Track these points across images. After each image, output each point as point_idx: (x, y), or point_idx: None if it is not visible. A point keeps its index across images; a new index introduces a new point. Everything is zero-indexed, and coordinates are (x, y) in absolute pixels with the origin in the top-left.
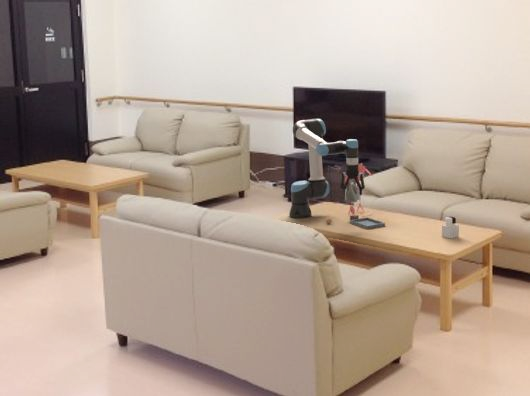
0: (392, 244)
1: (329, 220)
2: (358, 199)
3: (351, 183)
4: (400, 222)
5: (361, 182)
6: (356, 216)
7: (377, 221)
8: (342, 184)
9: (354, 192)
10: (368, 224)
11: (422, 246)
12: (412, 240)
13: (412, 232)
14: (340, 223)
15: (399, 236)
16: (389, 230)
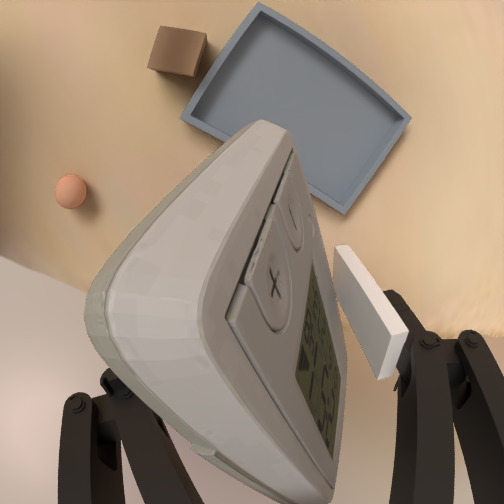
0: None
1: (78, 205)
2: (338, 294)
3: (270, 480)
4: (439, 25)
5: (472, 455)
6: (198, 56)
7: (360, 79)
8: (116, 479)
9: (341, 426)
10: (316, 124)
11: (494, 314)
12: (487, 282)
13: (496, 191)
14: (128, 149)
15: (463, 259)
16: (432, 190)
